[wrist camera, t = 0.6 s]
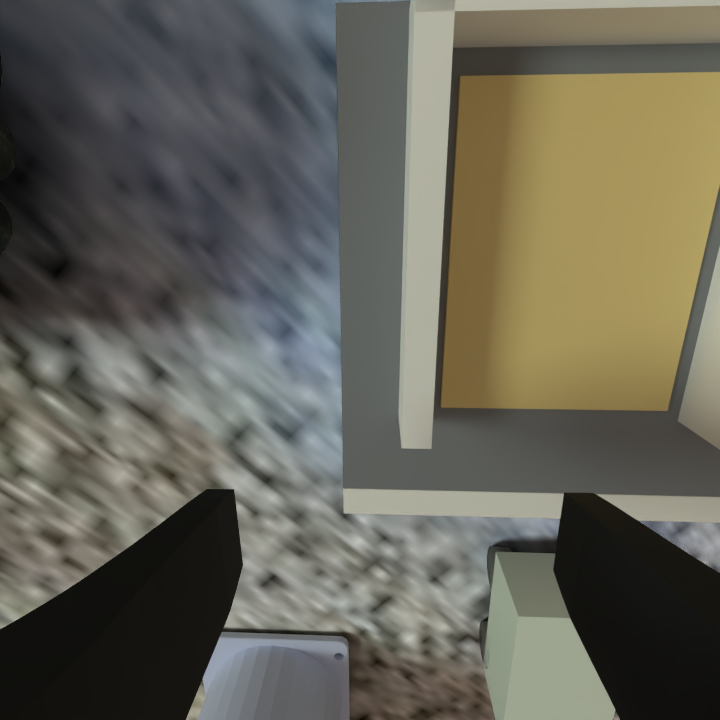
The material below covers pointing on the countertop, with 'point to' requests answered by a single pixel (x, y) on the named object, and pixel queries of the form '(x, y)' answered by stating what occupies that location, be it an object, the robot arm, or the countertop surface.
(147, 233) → the countertop surface
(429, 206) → the dock
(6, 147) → the squash
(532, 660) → the upright pale green block
